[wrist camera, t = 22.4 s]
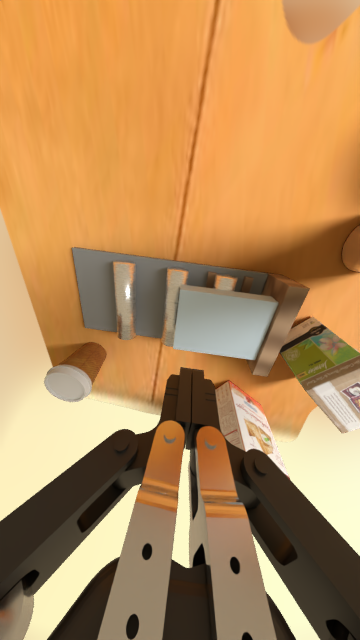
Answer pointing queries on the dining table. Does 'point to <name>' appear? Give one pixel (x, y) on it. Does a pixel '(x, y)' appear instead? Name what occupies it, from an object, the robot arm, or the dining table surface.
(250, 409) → the cracker box
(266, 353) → the wooden stops
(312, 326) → the tea box
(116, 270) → the bed rollers
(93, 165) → the dining table surface
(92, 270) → the mat
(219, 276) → the roller
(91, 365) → the disposable coffee cup
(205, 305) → the slab
